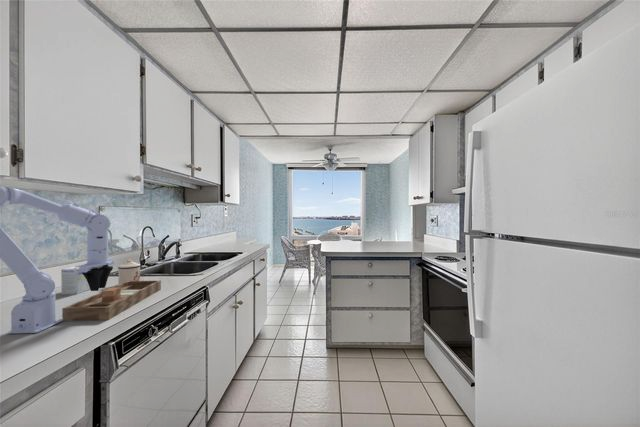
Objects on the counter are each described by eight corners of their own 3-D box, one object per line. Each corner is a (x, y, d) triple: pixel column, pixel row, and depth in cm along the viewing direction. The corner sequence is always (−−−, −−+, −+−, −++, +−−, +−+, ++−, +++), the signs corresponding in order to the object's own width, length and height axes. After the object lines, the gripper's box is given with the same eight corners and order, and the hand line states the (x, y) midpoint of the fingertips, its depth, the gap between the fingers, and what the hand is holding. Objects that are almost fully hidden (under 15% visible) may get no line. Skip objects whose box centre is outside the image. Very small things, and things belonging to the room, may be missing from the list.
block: (113, 301, 104) (113, 290, 104) (102, 301, 103) (102, 290, 103) (120, 298, 108) (120, 287, 108) (109, 298, 107) (109, 287, 107)
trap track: (108, 319, 93) (108, 307, 93) (62, 320, 92) (62, 308, 92) (160, 289, 129) (160, 280, 129) (127, 290, 128) (127, 281, 128)
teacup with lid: (137, 285, 135) (137, 260, 135) (115, 287, 132) (114, 262, 132) (144, 279, 146) (144, 257, 146) (123, 281, 143) (123, 257, 143)
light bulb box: (79, 287, 131) (79, 264, 131) (95, 287, 132) (95, 264, 132) (60, 294, 120) (60, 269, 120) (77, 294, 121) (77, 268, 121)
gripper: (95, 252, 91) (95, 295, 91) (123, 246, 106) (123, 283, 106) (71, 252, 91) (72, 295, 91) (102, 246, 105) (102, 284, 105)
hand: (98, 289), depth 98 cm, fingers open, 3 cm apart
